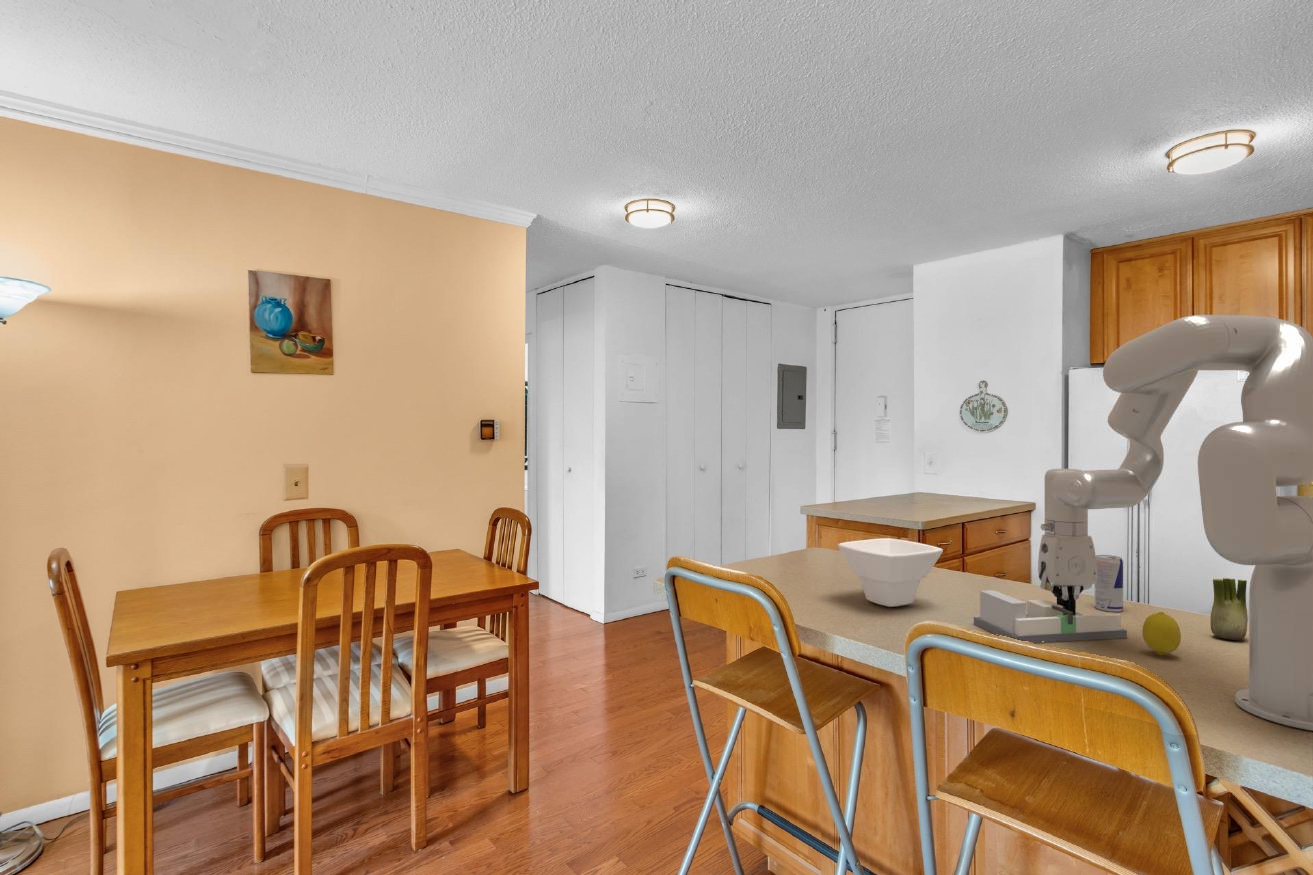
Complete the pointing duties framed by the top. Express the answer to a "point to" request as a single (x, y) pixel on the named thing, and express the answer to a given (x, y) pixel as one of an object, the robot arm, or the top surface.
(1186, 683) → the top surface
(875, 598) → the bowl
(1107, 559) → the energy drink
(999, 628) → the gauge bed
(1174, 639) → the lemon
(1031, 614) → the carriage
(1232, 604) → the fennel bulb
